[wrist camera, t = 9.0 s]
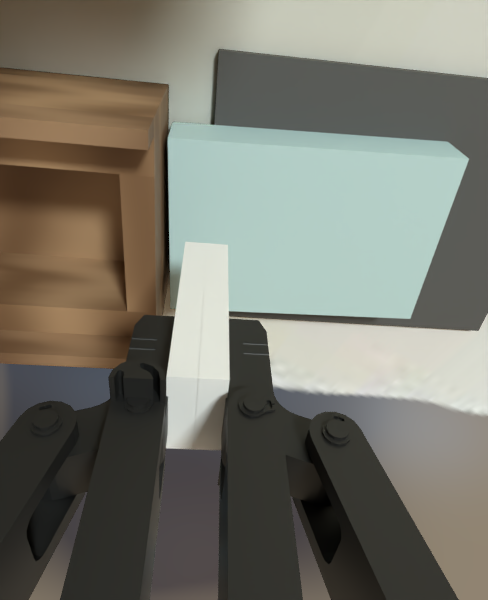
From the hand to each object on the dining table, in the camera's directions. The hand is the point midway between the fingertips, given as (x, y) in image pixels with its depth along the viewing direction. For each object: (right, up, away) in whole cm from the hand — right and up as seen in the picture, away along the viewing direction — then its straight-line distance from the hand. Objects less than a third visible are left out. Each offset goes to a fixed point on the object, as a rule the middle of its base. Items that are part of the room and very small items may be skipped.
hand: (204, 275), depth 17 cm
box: (-9, +4, +4) cm, 11 cm away
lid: (+4, +3, +5) cm, 7 cm away
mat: (+8, +3, +6) cm, 10 cm away
